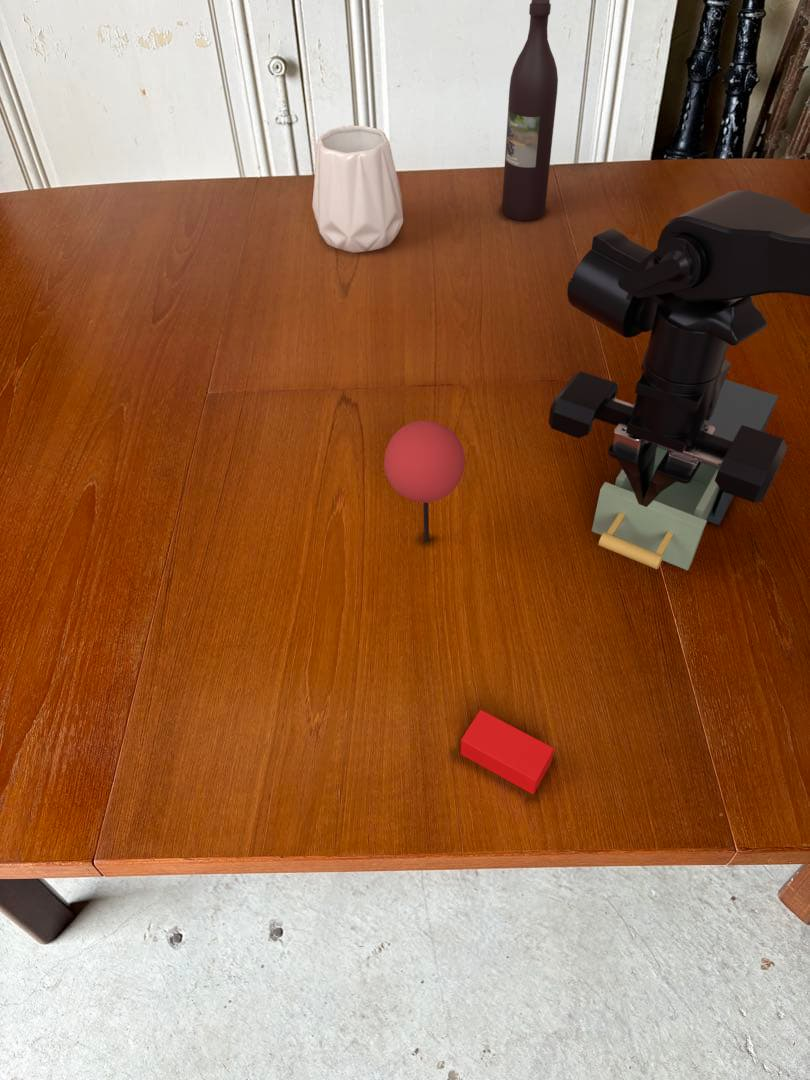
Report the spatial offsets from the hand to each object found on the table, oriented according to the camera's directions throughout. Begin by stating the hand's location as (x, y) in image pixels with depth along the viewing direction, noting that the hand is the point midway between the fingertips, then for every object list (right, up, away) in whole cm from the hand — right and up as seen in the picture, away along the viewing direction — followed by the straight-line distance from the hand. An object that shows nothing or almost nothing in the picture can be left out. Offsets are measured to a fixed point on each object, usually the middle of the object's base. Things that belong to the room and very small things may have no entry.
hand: (644, 502), depth 75 cm
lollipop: (-20, -3, +12) cm, 23 cm away
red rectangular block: (-13, -22, -5) cm, 26 cm away
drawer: (+4, -2, +11) cm, 12 cm away
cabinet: (+10, +5, +18) cm, 21 cm away
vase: (-29, +45, +56) cm, 77 cm away
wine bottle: (-2, +51, +60) cm, 78 cm away
